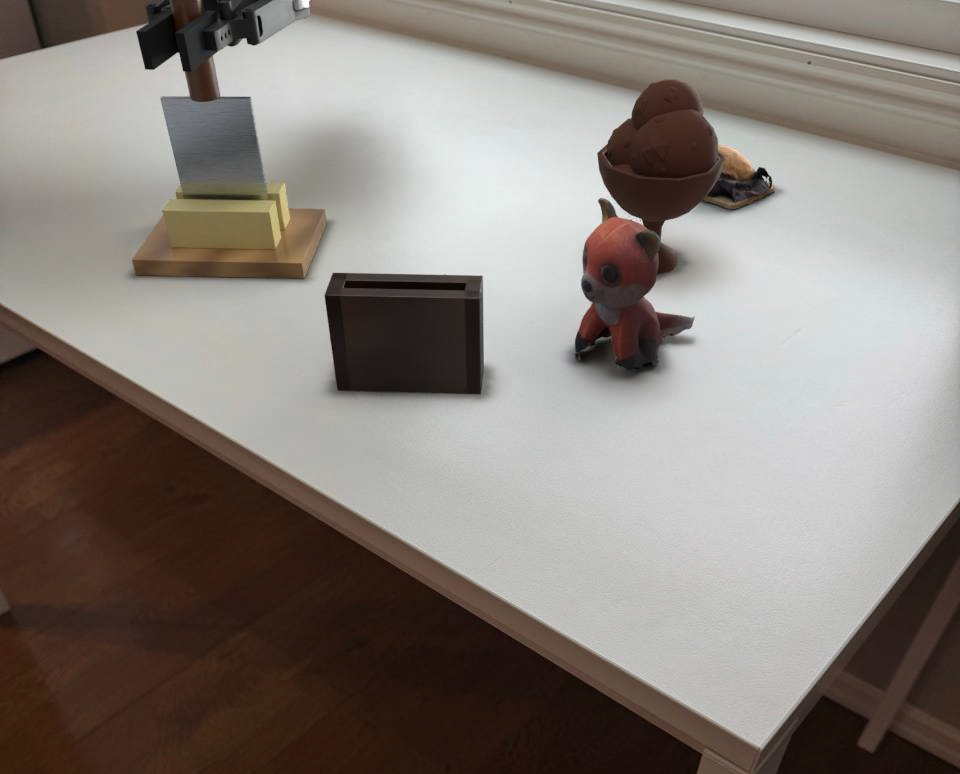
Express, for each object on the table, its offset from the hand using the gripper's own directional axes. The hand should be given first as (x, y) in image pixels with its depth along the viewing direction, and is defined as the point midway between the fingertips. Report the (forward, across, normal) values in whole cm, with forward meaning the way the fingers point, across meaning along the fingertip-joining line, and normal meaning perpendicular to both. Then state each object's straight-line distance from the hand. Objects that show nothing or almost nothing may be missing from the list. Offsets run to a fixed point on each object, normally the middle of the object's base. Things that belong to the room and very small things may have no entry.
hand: (164, 51), depth 77 cm
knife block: (+15, -23, -18) cm, 33 cm away
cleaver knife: (-5, 0, -15) cm, 16 cm away
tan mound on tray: (-29, -45, -19) cm, 57 cm away
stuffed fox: (+7, -40, -19) cm, 45 cm away
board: (-5, 0, -18) cm, 19 cm away
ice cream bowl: (-10, -40, -19) cm, 45 cm away
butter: (-5, 0, -17) cm, 18 cm away
